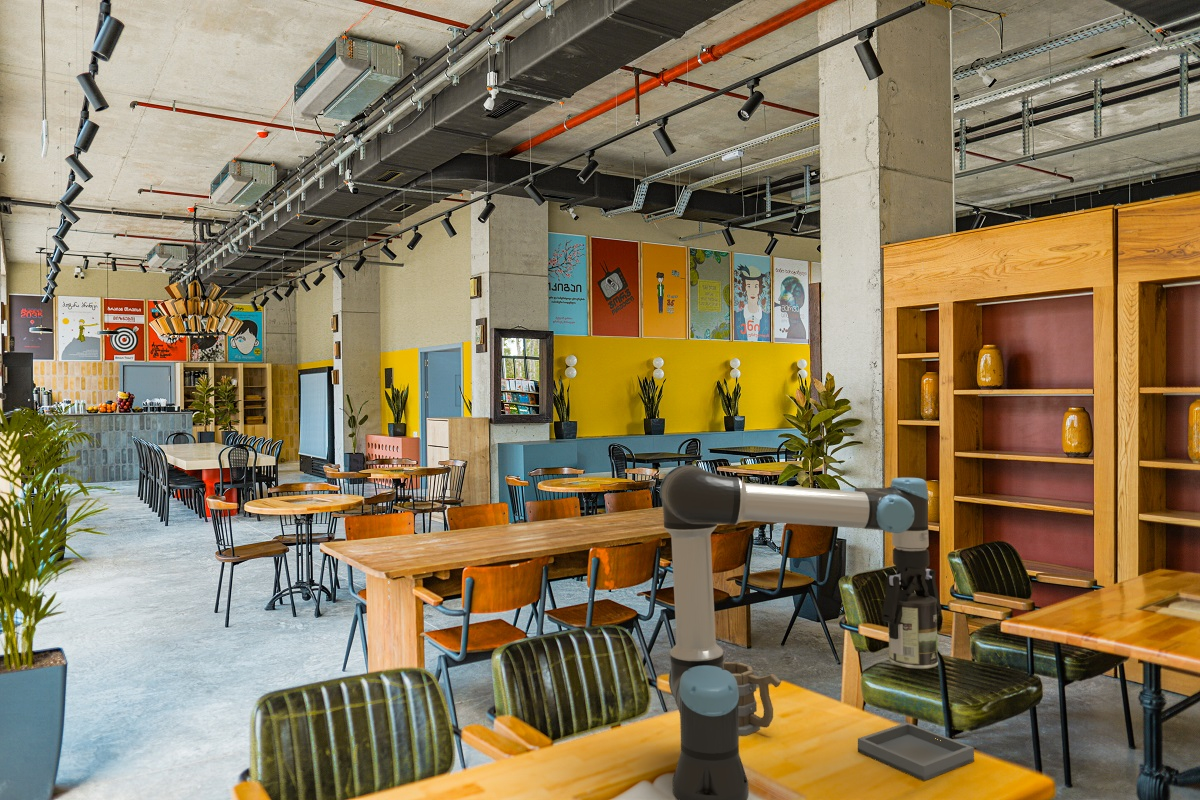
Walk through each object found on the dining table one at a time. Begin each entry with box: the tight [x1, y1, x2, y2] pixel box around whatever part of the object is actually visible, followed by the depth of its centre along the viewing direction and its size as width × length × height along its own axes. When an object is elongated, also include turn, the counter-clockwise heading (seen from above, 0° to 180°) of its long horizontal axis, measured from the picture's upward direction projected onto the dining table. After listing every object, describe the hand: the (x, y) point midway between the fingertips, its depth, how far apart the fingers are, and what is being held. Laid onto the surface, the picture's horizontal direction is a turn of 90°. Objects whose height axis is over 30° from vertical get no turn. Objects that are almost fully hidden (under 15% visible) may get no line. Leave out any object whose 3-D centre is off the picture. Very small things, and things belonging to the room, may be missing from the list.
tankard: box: [724, 661, 782, 736], centre depth 192 cm, size 20×13×15 cm, turn 42°
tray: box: [857, 721, 975, 782], centre depth 176 cm, size 17×17×3 cm
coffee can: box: [887, 592, 939, 670], centre depth 176 cm, size 10×10×14 cm
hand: (912, 649), depth 176 cm, fingers closed on coffee can, 10 cm apart
